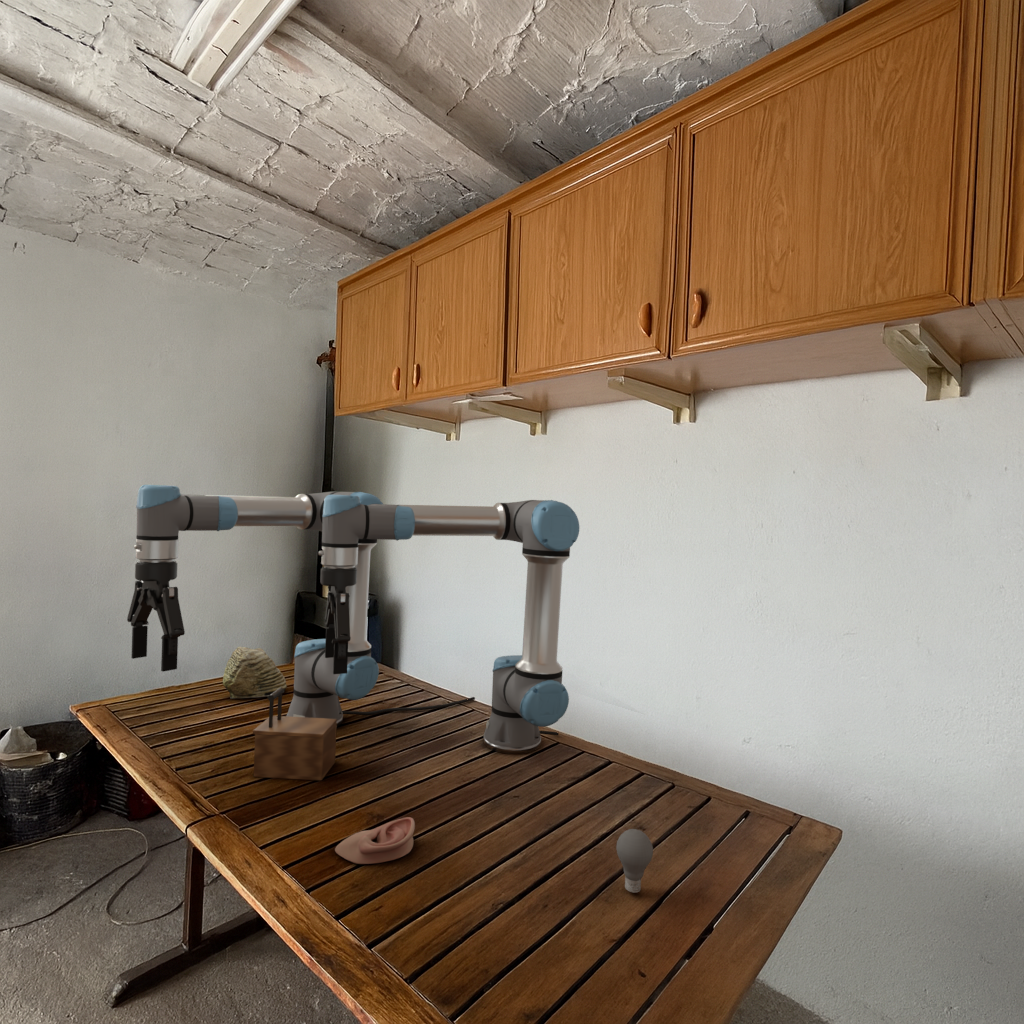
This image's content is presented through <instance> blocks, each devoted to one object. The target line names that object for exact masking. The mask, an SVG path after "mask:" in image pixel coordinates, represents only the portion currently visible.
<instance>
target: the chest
mask: <svg viewBox="0 0 1024 1024" xmlns="http://www.w3.org/2000/svg"><path fill="white" fill-rule="evenodd" d="M336 726H337V723H336V724H335V725H334V726H333V727H332V728H331V729H330V730H329V731H328V733H327V734H326V735H325V736H324V737H323V738H316V737H298V736H279V735H261V734H254V756H253V758H254V759H253V777H254V778H270V779H271V778H273V779H287V780H288V779H289V780H305V781H322V780H323V779H324V778H325V777H326V775H327V774H328V772H329V771H330V770H331V768H332V767H333V766H334V765H335V763H336V753H337V751H336V750H337V748H336V747H337V727H338V726H337V727H336Z"/></svg>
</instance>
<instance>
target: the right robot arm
mask: <svg viewBox="0 0 1024 1024" xmlns="http://www.w3.org/2000/svg"><path fill="white" fill-rule="evenodd" d="M322 517H323V520H322V531H321V549H322V550H319V551H318V556H321V562H320V564H321V565H322V567H321V568H320V578H319V579H320V584H321V586H324V587H327V595H326V596H327V597H326V598H327V601H326V608H325V610H326V611H325V617H324V623H325V627H326V628H325V639H326V642H325V658H332V657H334V662H333V674H345V673H347V662H348V641H350V639H351V637H350V620H349V597H350V595H349V593H347V592H346V587H347V586H353V585H355V584H356V583H357V569H356V568H355V566H356V565H357V563H358V539H377V540H384V541H385V540H389V541H393V540H394V541H398V542H399V541H402V540H403V541H405V540H410V539H411V538H413V537H414V536H415V537H416V536H418V537H419V536H420V537H421V536H424V537H425V536H426V537H427V536H429V537H430V536H434V537H435V536H436V537H438V536H439V537H493V538H494V539H495V540H496V541H512V542H516V543H521V544H522V547H521V548H522V549H521V555H522V556H523V557H524V558H525V559H526V561H527V567H526V569H527V570H526V584H525V585H526V586H525V587H526V588H525V602H524V603H525V604H524V619H523V638H522V650H521V651H522V654H519V655H518V654H517V655H514V654H512V655H502V656H501V655H500V656H498V657H496V658H495V659H494V661H493V666H492V667H493V668H492V689H491V713H490V716H489V718H488V719H486V722H485V723H486V724H485V726H486V727H485V729H484V732H483V741H482V743H483V745H484V746H485V747H486V748H487V749H489V750H492V751H494V752H498V753H502V754H507V755H508V754H509V755H520V754H521V755H522V754H528V753H532V752H534V751H537V750H538V749H540V747H541V746H542V745H541V744H542V735H549V736H559V732H558V731H550V730H540V728H546V727H550V726H552V725H555V724H556V723H557V722H558V721H560V719H562V718H563V716H565V713H566V712H567V710H568V707H569V702H570V698H569V697H570V696H569V692H568V690H567V688H566V686H565V685H564V684H563V667H562V665H561V664H560V663H559V662H558V647H559V630H560V618H561V617H560V615H561V601H562V600H561V599H562V598H561V597H562V584H563V583H562V582H563V568H564V567H563V566H564V563H565V562H566V561H567V560H568V559H569V558H570V557H571V556H570V555H571V548H572V546H573V545H574V544H575V543H576V541H578V537H579V536H580V535H579V534H580V521H579V518H578V515H577V514H576V512H575V511H574V510H573V509H572V508H571V506H569V505H568V504H566V503H564V502H562V501H558V500H554V499H548V500H547V499H545V500H543V499H538V500H537V499H528V500H521V501H513V502H496V503H495V504H494V505H493V506H487V505H486V506H484V505H483V506H482V505H480V506H479V505H436V504H434V505H433V504H384V503H383V504H370V505H363V504H360V498H359V497H358V496H354V495H328V496H326V497H325V499H324V508H323V515H322ZM557 732H558V733H557Z"/></svg>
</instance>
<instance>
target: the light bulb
mask: <svg viewBox="0 0 1024 1024" xmlns="http://www.w3.org/2000/svg"><path fill="white" fill-rule="evenodd" d="M615 849H616V854H617V857H618V859H619V861H620V863H621V865H622V867H623V873H624V874H623V875H624V876H625V878H624V888H625V890H627V891H628V892H630V893H634V894H635V893H639V892H640V891H641V889H642V887H641V886H642V879H643V877H644V875H645V871H646V868H647V867H648V866H649V864H650V863H651V861H652V859H653V855H654V847H653V843H652V841H651V838H649V836H648V835H647V834H646V833H645V832H643V831H642V830H641V829H636V828H629V829H627V830H625V831H623V832H622V833H621V834H620V835H619V837H618V839H617V841H616V847H615Z"/></svg>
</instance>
